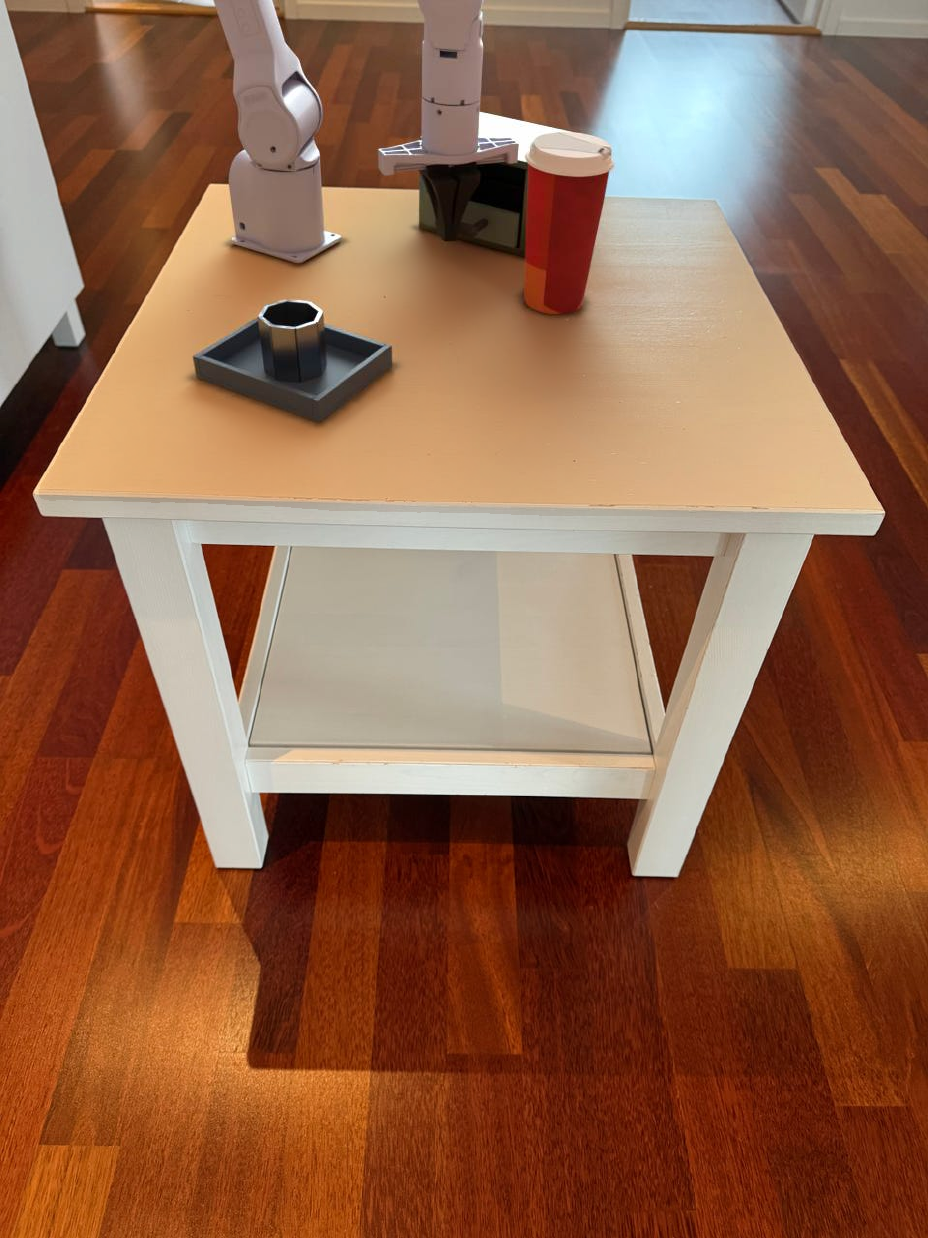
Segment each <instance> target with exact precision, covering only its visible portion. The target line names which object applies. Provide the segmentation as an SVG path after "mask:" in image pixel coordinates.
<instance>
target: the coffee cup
mask: <svg viewBox="0 0 928 1238" xmlns="http://www.w3.org/2000/svg"><path fill="white" fill-rule="evenodd" d="M529 148H530V150H529V151H527V152H526V153H525V154H524V158H525V160H526V162H527V163H528V193H527V220H526V249H525V257H524V288H523V289H524V290H523V291H524V293H523V294H524V302H525V304H526V305H527V306H528V307H529V308H531V310H534V311H537V312H539V313H544V314H547V315H567V314H568V315H569V314H571V313H575V312H576V311H578V310H579V309H580V308H582V305H583V301H584V298H585V293H586V289H587V284H588V280H589V274H590V270H591V265H592V260H593V256H594V250H595V244H596V241H597V235H598V232H599V231H598V230H599V226H600V222H601V217H602V213H603V208H604V204H605V198H606V192H607V187H608V182H609V177H610V171H612V170H613V169H614V167H615V161H614V158H613V156H612V146H611V145H610V143H609V142H608V141H606V140H604V139H603V138H601V137H598V136H595V135H592V134H587V133H583V132H574V131H570V132H553V133H546V134H542V135H540V136H538V137H536V138H535V139H534V141H533V142H532V143H531V144H530V145H529Z"/></svg>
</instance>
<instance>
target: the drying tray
mask: <svg viewBox="0 0 928 1238" xmlns="http://www.w3.org/2000/svg"><path fill="white" fill-rule="evenodd" d="M324 331H325V346H326V360H327V365H326V367H325V369H324V371H323V373H322V375H321V376H319V377H316V378H313V379H310V380H307V381H304V382H299V383H298V382H288V381H278V380H275V379H274V378H273V377H272V376H270V375H269V374H268V373H267V372H266V371H264V365H263V357H262V349H261V340H260V332H259V324H258V316H256V317H255V318H253V319H252V320H250V321H249V322H247V323H245V324H243V325H242V326H240V327H239V328H237V329H235V330H233V331H232V332H231V333H228V334H227V335H226V336H224V337H222V338H220V339H219V340H217V341H215V342H214V343H212V344H210V345H209V346H207V347H206V348H204V349H202V350H200V351H199V352H197V353H195V354H194V355H192V360H193V365H194V371H195V376H196V377H195V378H197V379H198V380H202V381H205V382H206V383H209V384H213V385H215V386H217V387H220V388H223V389H226V390H228V391H231V392H234V393H236V394H239V395H242V396H245V397H248V398H250V399H253V400H255V401H258V402H262V403H264V404H267V405H270V406H272V407H275V408H277V409H280V410H283V411H285V412H289V413H290V414H294V415H296V416H299V417H302V418H305V419H307V420H311V421H313V422H316V423H321V422H323V421H324V420H325V419H327V418H328V417H329V416H330V415H332V414H333V413H335V412H336V411H337V410H338V409H340V408H341V407H342V406H344V405H345V404H346V403H347V402H349V401H350V400H351V399H353V398H354V397H355V396H356V395H358V394H359V393H360V392H361V391H363V390H364V389H365V388H367V387H368V386H369V385H371V384H372V383H373V382H374V381H376V380H377V379H378V378H379V377H381V376H382V375H384V374H385V373H386V372H387V371H388V370H390V369H391V368H392V367H393V345H391V344H387V343H385V342H382V341H380V340H379V341H378V340H375V339H373V338H369V337H366V336H363V335H361V334H358V333H354V332H351V331H348V330H344V329H341V328H339V327H336V326H333V325H330V324H326V323H324Z"/></svg>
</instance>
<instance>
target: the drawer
mask: <svg viewBox="0 0 928 1238" xmlns="http://www.w3.org/2000/svg"><path fill="white" fill-rule="evenodd" d="M524 189H525V188H522V187H518V186H514V185H510V184H506V183H502V182H498V181H493V180H489V179H485V178H481V177H480V183H479V185H478V186H477V188H476V189H475V191H474V193H473V194H472V196H471V198H470V200H469V202H468V204H467V207H466V209H465V211H464V214H463V217H462V220H461V223H460V227H459V230H458V234H462V235H466V236H469V237H474V238H478V239H482V240H485V241H489V242H493V243H497V244H500V245H504V246H508V247H511V248H515V247H516V246H517V245H519V244H520V236H521V224H522V213H523V201H524ZM425 224H426V225H430V226H434V227H437V224H436V218H435V214H434V210H433V206H432V203H431V200H430V197H429V194H428V192H426V201H425Z"/></svg>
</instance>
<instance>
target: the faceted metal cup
mask: <svg viewBox="0 0 928 1238" xmlns="http://www.w3.org/2000/svg"><path fill="white" fill-rule="evenodd" d="M324 316H325V315H324V310H323V309H321V308H320V307H319V306H317V305H316V304H314V303H313V302H312V301H309V300H300V299H299V300H297V299H282V300H279V301H274V302H272V303H271V302H270V303H268V304H267V303H266V304H265V305H263V306H262V308H261V310H260V311H259V313H258V315H257V317H258V324H259V332H260V340H261V349H262V357H263V365H264V371H266V372H267V373H268V374H269V375H270V376H272V377H273V378H274V379H275V380H278V381H288V382H298V383H299V382H304V381H307V380H310V379H313V378H316V377H319V376H321V375H322V373H323V371H324V369H325V367H326V365H327V360H326V346H325V331H324V324H325V317H324Z"/></svg>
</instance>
